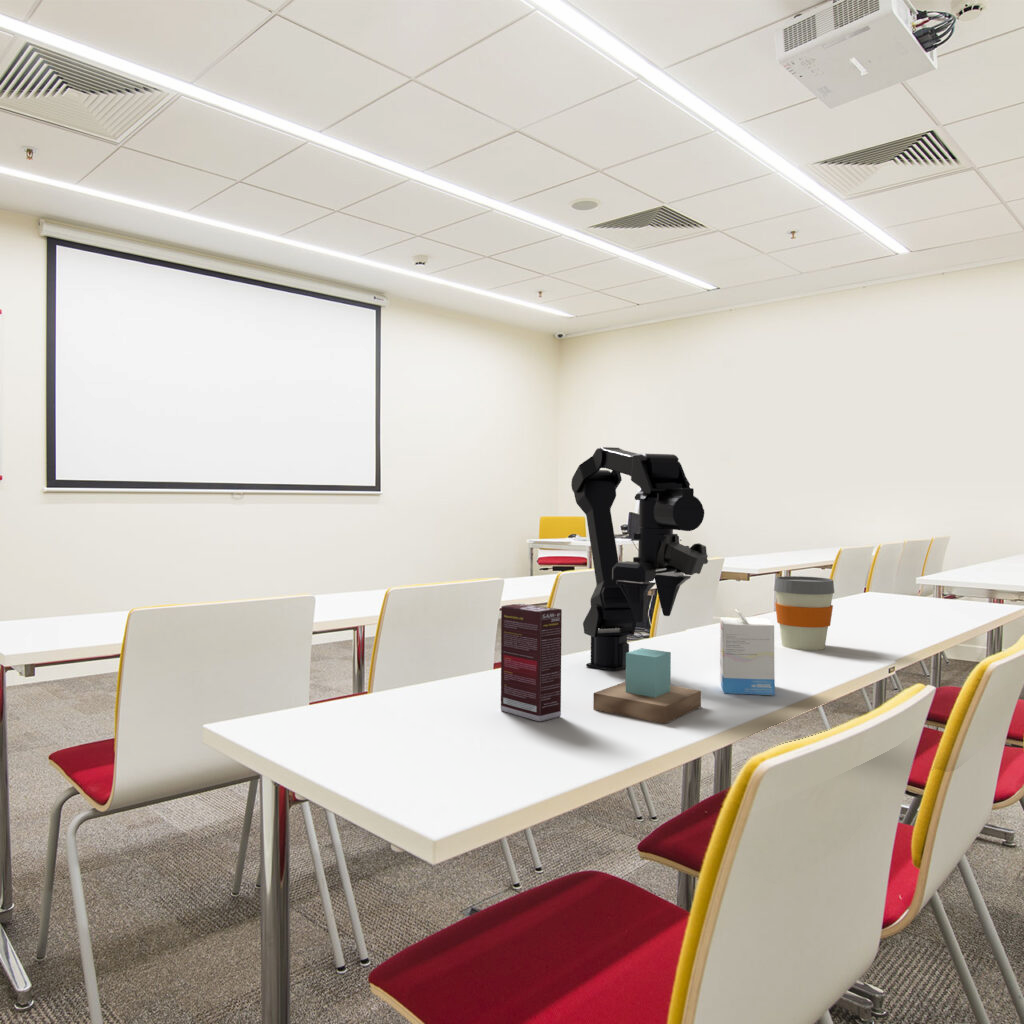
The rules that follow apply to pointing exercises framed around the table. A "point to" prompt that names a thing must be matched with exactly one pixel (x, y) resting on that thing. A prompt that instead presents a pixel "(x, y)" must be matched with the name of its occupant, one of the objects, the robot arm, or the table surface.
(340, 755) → the table surface
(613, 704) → the base
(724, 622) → the ink box
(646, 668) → the block
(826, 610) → the reusable coffee cup
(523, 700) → the supplement box
